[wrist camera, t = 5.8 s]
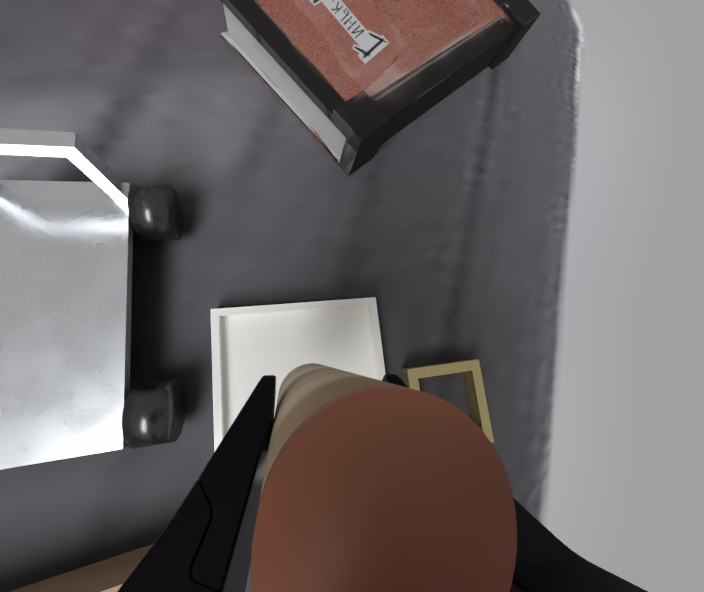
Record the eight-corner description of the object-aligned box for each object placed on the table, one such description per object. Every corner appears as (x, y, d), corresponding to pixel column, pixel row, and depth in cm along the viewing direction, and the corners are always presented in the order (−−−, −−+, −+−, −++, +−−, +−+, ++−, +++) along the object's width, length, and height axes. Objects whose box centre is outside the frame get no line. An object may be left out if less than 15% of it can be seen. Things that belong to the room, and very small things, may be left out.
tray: (390, 455, 22) (396, 460, 21) (219, 491, 19) (215, 500, 18) (371, 299, 24) (375, 297, 23) (214, 311, 21) (210, 309, 20)
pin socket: (483, 437, 24) (493, 442, 22) (412, 453, 22) (419, 458, 21) (469, 359, 25) (478, 359, 24) (401, 368, 23) (407, 369, 22)
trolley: (185, 432, 19) (124, 482, 12) (-51, 471, 16) (-325, 568, 9) (183, 202, 22) (132, 127, 15) (-18, 200, 19) (-205, 105, 12)
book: (404, -49, 34) (424, -116, 29) (504, 62, 34) (540, 13, 29) (216, 36, 26) (201, -36, 21) (347, 179, 26) (361, 140, 21)
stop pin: (352, 409, 16) (559, 577, 4) (294, 443, 15) (332, 806, 3) (326, 352, 17) (443, 345, 4) (267, 381, 16) (201, 481, 3)
